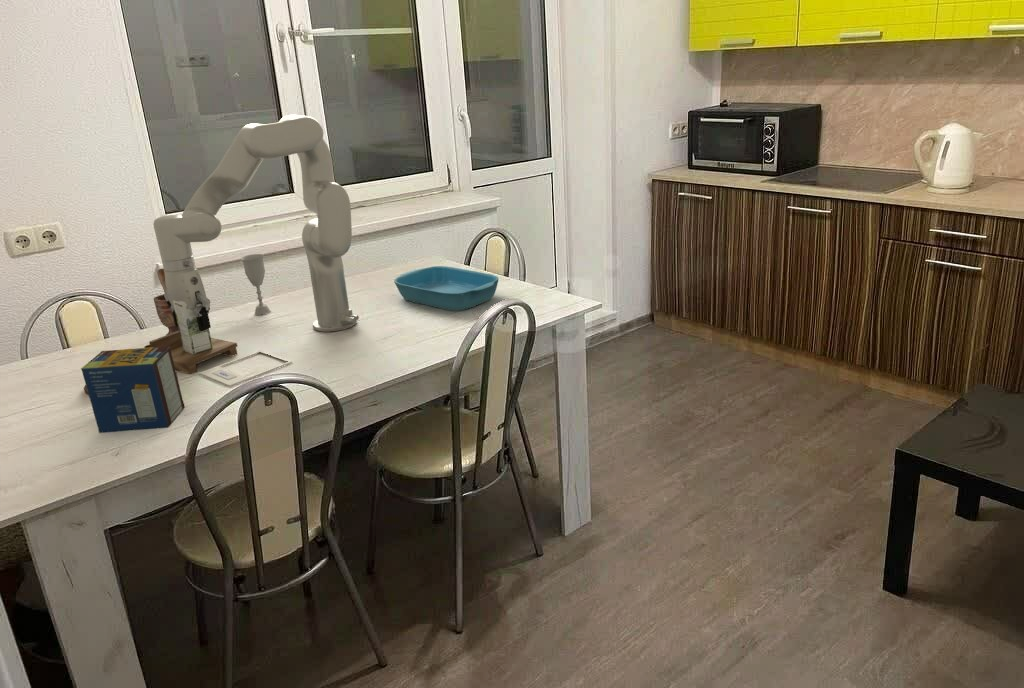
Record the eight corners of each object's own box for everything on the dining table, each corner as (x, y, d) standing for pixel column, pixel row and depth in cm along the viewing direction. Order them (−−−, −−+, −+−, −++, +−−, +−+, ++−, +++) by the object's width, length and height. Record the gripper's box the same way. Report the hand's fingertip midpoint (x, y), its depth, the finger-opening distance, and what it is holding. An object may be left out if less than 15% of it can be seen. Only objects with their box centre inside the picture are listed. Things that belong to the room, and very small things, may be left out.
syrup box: (203, 344, 207) (192, 293, 202) (213, 348, 204) (202, 297, 198) (183, 350, 204) (171, 298, 198) (193, 355, 200) (181, 302, 195)
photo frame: (198, 371, 195) (260, 349, 208) (199, 375, 196) (261, 353, 208) (229, 384, 186) (291, 360, 199) (230, 388, 186) (292, 364, 199)
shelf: (238, 353, 208) (234, 329, 206) (189, 374, 195) (183, 349, 193) (205, 345, 215) (200, 322, 213) (155, 366, 202) (149, 341, 200)
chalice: (269, 315, 238) (259, 259, 231) (248, 316, 238) (237, 260, 231) (276, 308, 244) (267, 253, 238) (255, 309, 245) (245, 254, 238)
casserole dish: (383, 299, 248) (380, 278, 245) (433, 282, 263) (431, 261, 261) (463, 319, 225) (461, 296, 222) (513, 299, 240) (512, 277, 237)
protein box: (118, 412, 176) (101, 350, 171) (185, 407, 177) (170, 345, 171) (97, 433, 167) (79, 368, 161) (169, 428, 167) (153, 362, 161)
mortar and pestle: (153, 339, 223) (137, 273, 216) (180, 330, 229) (166, 265, 222) (172, 346, 216) (156, 278, 209) (200, 337, 222) (186, 271, 215)
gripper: (213, 263, 194) (226, 326, 200) (170, 258, 203) (184, 318, 209) (188, 271, 188) (202, 336, 194) (145, 265, 197) (160, 327, 203)
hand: (193, 327), depth 201 cm, fingers open, 9 cm apart
